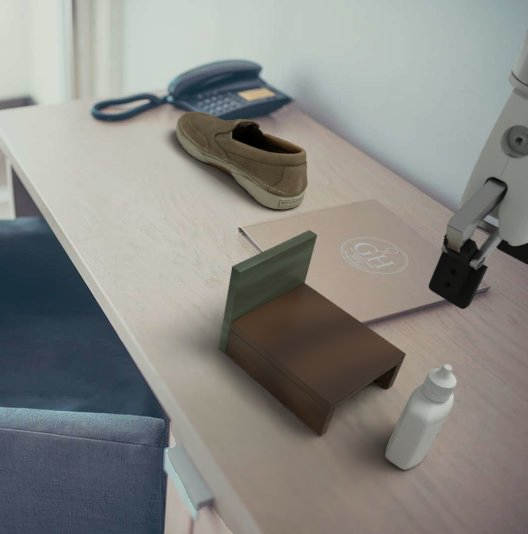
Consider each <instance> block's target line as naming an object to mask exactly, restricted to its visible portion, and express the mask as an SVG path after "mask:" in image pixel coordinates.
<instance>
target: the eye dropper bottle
mask: <svg viewBox="0 0 528 534" xmlns="http://www.w3.org/2000/svg"><path fill="white" fill-rule="evenodd" d="M457 384H458V380H457V378H456V376H455V375H454V374H453V367H452V365H451V364H448V363H445V364H444V365H442V367H435V368H434V367H433V368H432V369H430V370H429V371H428V373H427V375H426V377H425V379H424V381H423V383H422V384H420V385H419V386H417V387H416V388H415V389H414V390H413V391H412V392H411V394H410V395H409V397H408V400H407V401H406V403H405V405H404V407H403V409H402V412H401V414H400V416H399V418H398V420H397V422H396V425H395V427H394V429H393V432H392V433H391V434H390V435H391V436H390V437H389V440H388V442H387V444H386V446H385V447H386V448H385V453H384V456H385V458H386V459H387V460H388V461H389V462H390V463H392V464H393V465H395V466H396V467H397V468H398V469H401V470H403V471H408V470H411V469H413V468H415V467H417V466H418V465H420V464H421V463H422V462H423V461H424V460H425V459H426V457H427V455H428V454H429V452H430V450H431V449H432V447H433V444H434V443H435V441H436V439H437V437H438V435H439V433H440V432H441V429H442V427H443V426H444V424H445V422H446V420H447V418H448V416H449V414H450V412H451V410H452V408H453V406H454V402H455V401H454V400H455V396H454V390H455V389H456V387H457Z"/></svg>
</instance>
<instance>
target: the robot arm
mask: <svg viewBox="0 0 528 534" xmlns="http://www.w3.org/2000/svg"><path fill="white" fill-rule="evenodd" d="M507 78H508V82H509V84H510V85H511V86H512V87H513V89H512V91H511V92H510V95H509V97H508V99H507V101H506V102H505V104H504V106H503V108H502V110H501V112H500V113H499V115H498V117H497V119H496V120H495V124H494V125H493V127H492V129H491V130H490V133H489V134H488V137H487V139H486V141H485V143H484V145H483V147H482V149H481V151H480V153H479V156H478V158H477V160H476V162H475V164H474V166H473V169H472V171H471V173H470V176H469V178H468V179H467V182H466V185H465V187H464V190H463V193H462V196H461V198H460V202H459V205H458V209H457V211H456V212H455V213H454V214H453V215H452V216H451V217H450V218H449V220H448V222H447V223H446V224H447V225H446V232H445V234H444V235H443V239H442V240H443V241H442V244H443V245H442V246H441V249H440V250H441V254H440V256H439V258H438V260H437V263H436V265H435V268H434V271H433V273H432V275H431V277H430V281H429V283H428V289H429V290H430V291H431V292H432V293H434V294H435V295H437V296H439V297H441V298H442V299H444V300H446V301H447V302H449V303H450V304H452V305H454V306H455V307H457V308H459V309H460V310H465V309H467V308H469V307H470V306H471V303H472V302H473V299H474V297H475V295H476V293H477V291H478V289H479V287H480V285H481V283H482V280H483V278H484V277H485V274H486V272H487V271H488V268H489V266H487V265H486V264H485V263H486V261H487V260H488V258H489V257H490V256H491V255H492V254H493V252H494V251H495V249H497V250H498V251H500V252H501V253H504V254H506V255H508V256H510V257H511V258H514V259H515V260H516V261H517V260H518V261H519V262H521V263H523V264H525V265H527V266H528V29H527V31H526V33H525V35H524V38H523V40H522V43H521V45H520V48H519V51H518V52H517V54H516V57H515V60H514V61H513V65H512V67H511V70H510V73H509V75H508V77H507ZM488 216H489V217H491V218H493V219H496V220H497V221H498V226H496V225H495V224H493V223H490V222H488V221H487V220H484V219H486V217H488ZM475 230H477V231H480V232H481V233H483V234H485V235H487V236H488V237H487V238H486V239H485V240H484V242H483V243H482V244H481V246H480V247H478V245H477V242H476V240H474V239H472V237H473V236H474V233H475Z"/></svg>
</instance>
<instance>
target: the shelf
mask: <svg viewBox="0 0 528 534" xmlns="http://www.w3.org/2000/svg"><path fill="white" fill-rule="evenodd" d="M317 238H318V234H317V233H315V232H314V231H312V230H310V229H309V230H308V229H307V230H306V231H304V232H302V233H300V234H297V235H296V236H294V237H291V238H289V239H287V240H285V241H283V242H280V243H278V244H276V245H274V246H273V247H270V248H268V249H266V250H264V251H261V252H259V253H257V254H254V255H253V256H251V257H249V258H247V259H245V260H243V261H240V262H238V263H236V264H234V265H232V266H231V269H230V270H231V272H230V277H229V281H228V282H229V283H228V289H227V293H226V294H227V295H226V299H225V300H226V301H225V306H224V312H223V318H222V325H221V331H220V335H219V336H220V337H219V341H218V342H219V343H218V349H220V350H221V351H222V352H223V353H224V354H225V355H226V356H227V357H229V358H230V359H231V360H232V361H233V362H234V363H235V364H237V365H238V366H239V367H240V368H241V369H242V370H244V372H246V374H248V375H249V376H250V377H251V378H252V379H254V380H255V381H256V382H257V383H258V384H259V385H261V387H263V388H264V390H266V391H267V392H268V393H270V394H271V395H272V396H273V397H274V398H275V399H277V401H279V402H280V403H281V404H282V405H283V406H285V408H287V410H289V412H291V413H292V414H293V415H294V416H296V417H297V418H298V419H299V420H300V421H301V422H302V423H304V424H305V425H306V426H307V427H308V428H309V429H310V430H311V431H313V432H314V433H315V434H316V435H317V436H318V437H323V435H325V434H326V433H327V431H328V429H329V425H330V423H331V420H332V417H333V415H334V412H335V409H336V407H338V406H339V405H340V404H342V403H343V402H344V401H346V400H348V399H349V398H350V397H352V396H354V395H355V394H356V393H358V392H359V391H361V390H362V389H364V388H365V387H367V386H368V385H369V384H371V383H373V382H374V381H375V382H377V384H379V385H381V386H382V387H383V388H385V389H386V390H388V389H390V388H391V387H393V386H394V383H395V381H396V379H397V376H398V374H399V372H400V370H401V367H402V365H403V362H404V360H405V357H406V355H407V353H406V352H405V351H403V350H402V349H400V348H399V347H398V346H396V345H394V344H393V343H392V342H390V341H389V340H387V339H386V338H384V337H383V336H381V335H380V334H379V333H377V331H374V330H373V329H372V328H370V327H369V326H367V325H365V324H364V323H363V322H362V321H360V320H359V319H357V318H356V317H354V316H353V315H351V314H350V313H349V312H347V311H346V310H344V309H343V308H341V307H340V306H339V305H337V304H336V303H335V302H333V301H331V300H330V299H328V298H327V297H326V296H325V295H323V294H321V293H320V292H319V291H317V290H315V288H313V287H312V286H310V285H308V284H307V283H306V281H307V280H306V279H307V276H308V273H309V269H310V264H311V262H312V257H313V253H314V249H315V245H316V242H317Z"/></svg>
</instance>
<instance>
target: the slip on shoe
mask: <svg viewBox="0 0 528 534" xmlns="http://www.w3.org/2000/svg"><path fill="white" fill-rule="evenodd" d="M260 127H261V126H260V124H259V123H258V122H257V121H255V120H252V119H246V118H238V119H227V120H224V119H223V118H221V117H217V116H215V115H213V114H209V113H206V112H202V111H187V112H184V113H183V114H181V115H180V117H179V118H178V119H177V121H176V128H175V129H176V132H175V134H176V137H177V140H178V142H179V144H180V145H181V146H182V148H183V149H184V150H185V151H186V152H187V154H189V155H190V156H192V157H193V158H195V159H196V160H198V161H200V162H203V163H205V164H208V165H210V166H212V167H215V168H217V169H220V170H222V171H224V172H226V173H228V174H229V175H230V176H232V177H233V178H234V180H235V182H237V184H239V186H241V187H242V188H243V189H244V190H246V191H247V192H248V194H249V195H250V196H252V197H253V198H254V199H255V200H256V201H257V203H259V204H261V205H262V206H264V207H267V208H270V209H274V210H287V209H288V210H289V209H294V208H296V207H298V206H300V205H301V204H302V203H303V201H304V198H305V195H306V190H307V187H308V161H307V157H308V156H307V151H306V149H304V148H303V147H301V146H299V145H297V144H295V143H292V142H291V141H289V140H285V139H283V138H281V137H277V136H275V135H272V134H269V133H264V132H263V130H261V129H260Z"/></svg>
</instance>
